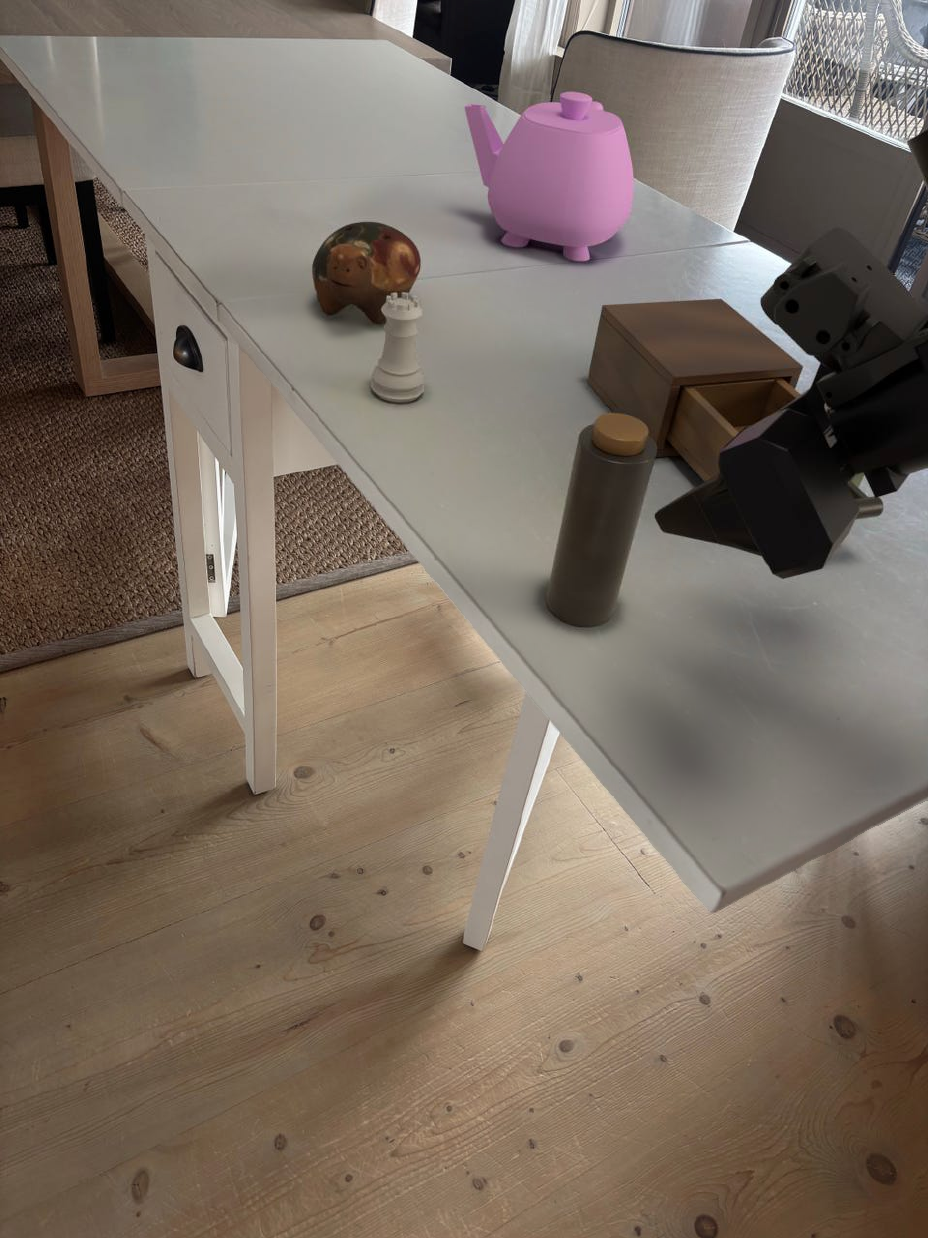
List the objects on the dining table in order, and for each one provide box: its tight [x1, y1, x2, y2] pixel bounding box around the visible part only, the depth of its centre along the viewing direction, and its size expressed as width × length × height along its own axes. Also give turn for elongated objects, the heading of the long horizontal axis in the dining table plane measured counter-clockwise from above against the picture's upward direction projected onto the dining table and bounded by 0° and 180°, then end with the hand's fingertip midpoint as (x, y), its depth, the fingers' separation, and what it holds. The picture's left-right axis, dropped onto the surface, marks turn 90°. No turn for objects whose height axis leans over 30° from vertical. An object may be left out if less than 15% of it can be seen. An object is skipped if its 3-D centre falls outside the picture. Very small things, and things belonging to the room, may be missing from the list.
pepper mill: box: [545, 412, 657, 628], centre depth 56 cm, size 4×4×13 cm
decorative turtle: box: [311, 221, 422, 326], centre depth 88 cm, size 10×15×8 cm, turn 170°
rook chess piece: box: [370, 292, 425, 404], centre depth 76 cm, size 4×4×8 cm
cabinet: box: [586, 298, 804, 459], centre depth 78 cm, size 13×12×7 cm
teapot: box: [464, 91, 635, 262], centre depth 105 cm, size 20×20×15 cm
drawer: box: [666, 377, 884, 521], centre depth 69 cm, size 16×10×5 cm, turn 19°
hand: (698, 485), depth 51 cm, fingers open, 9 cm apart
